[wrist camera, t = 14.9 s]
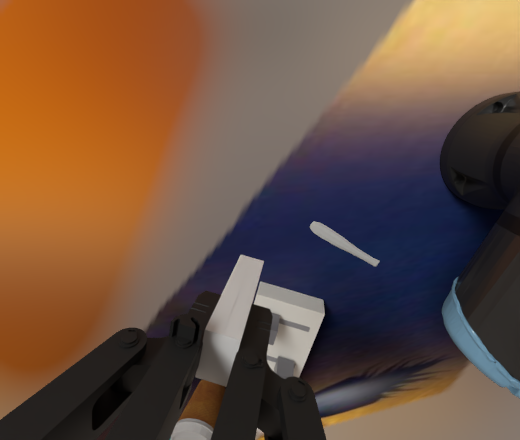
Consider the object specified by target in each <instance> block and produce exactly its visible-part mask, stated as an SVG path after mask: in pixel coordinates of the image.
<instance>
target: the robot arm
mask: <svg viewBox="0 0 520 440" xmlns="http://www.w3.org/2000/svg"><path fill="white" fill-rule="evenodd" d="M440 169H441V174H442V177H443V180H444V182H445V184H446V185H447V187H448V188H449V189H450V191H451V192H452V193H454V194H455V195H456V196H457V197H459V198H461V199H462V200H464V201H467V202H469V203H471V204H473V205H475V206H479V207H483V208H488V209H505V210H504V211H503V213H502V214H501V216H500V217H499V219H498V220H497V221H496V223H495V224H494V226H493V227H492V229H491V230H490V232H489V233H488V235H487V236H486V238H485V239H484V241H483V242H482V244H481V245H480V247H479V248H478V250H477V251H476V252H475V254H474V255H473V257H472V258H471V260H470V261H469V263H468V264H467V266H466V267H465V268H464V270H463V271H462V273H461V274H460V276H459V277H457V278H456V279H455V280H454V282H453V285H452V290H451V291H450V293H449V295H448V296H447V298H446V300H445V301H444V304H443V307H442V315H443V322H444V325H445V327H446V330H447V332H448V333H449V335H450V337H451V338H452V340H453V341H454V343H455V344H456V346H457V347H458V348H459V349H460V351H461V352H462V353H463V354H464V355H465V356H466V357H467V358H468V359H469V361H470V362H471V363H472V364H474V365H475V366H476V367H477V368H478V369H479V370H480V371H481V372H482V373H483V374H485V375H486V376H487V377H488V378H489V379H491V380H492V381H494V382H495V383H496V384H498V385H499V386H500V387H507V388H508V389H509V390H510V391H511V393H512V394H513V395H515V396H517V397H518V398H520V92H513V93H506V94H502V95H498V96H495V97H492V98H489V99H487V100H485V101H483V102H481V103H479V104H478V105H476V106H475V107H473V108H472V109H470V110H469V111H468V112H467V113H465V114H464V115H463V116H462V117H461V118H460V119H459V120H458V121H457V122H456V124H455V125H454V126H453V128H452V129H451V130H450V132H449V134H448V135H447V137H446V139H445V142H444V144H443V147H442V151H441V157H440ZM263 263H264V261H261V260H258V259H254V258H251V257H247V256H244V255H240V257H239V259H238V261H237V263H236V266H235V268H234V270H233V272H232V274H231V276H230V278H229V280H228V282H227V284H226V287H225V289H224V291H223V293H222V295H219V294H216V293H212V292H209V291H205V292H203V293H201V294H200V295H199V296H198V297H197V299H196V301H195V303H194V304H193V306H192V307H191V309H190V310H189V312H188V314H183V315H179V316H177V317H175V318H174V319H173V320H172V321H171V326H170V333H169V336H167V337H164V338H147V336H146V333H145V332H144V331H143V330H141V329H138V328H126V329H122V330H120V331H119V332H117V333H115V334H114V335H113V336H112V337H110V338H109V339H107V340H106V341H105V342H103V343H102V344H101V345H99V346H98V347H97V348H95V349H94V350H93V351H92V352H90V353H89V354H88V355H86V356H85V357H84V358H82V359H81V360H80V361H78V362H77V363H76V364H74V365H73V366H71V367H70V368H69V369H68V370H66V371H65V372H63V373H62V374H61V375H59V376H58V377H57V378H55V379H54V380H53V381H51V382H50V383H49V384H48V385H46V386H45V387H43V388H42V389H41V390H40V391H38V392H37V393H36V394H34V395H33V396H32V397H30V398H29V399H28V400H26V401H25V402H24V403H22V404H21V405H20V406H18V407H17V408H16V409H14V410H13V411H12V412H10V413H9V414H7V415H6V416H5V417H3V418H2V419H1V420H0V440H96V439H97V438H98V437H99V436H100V434H101V433H102V432H103V431H104V430H105V429H106V428H107V427H108V426H109V425H110V424H111V423H112V422H113V420H114V419H115V418H116V417H117V416H118V415H119V414H120V413H121V414H120V416H119V417H118V419H117V420H116V422H115V424H114V425H113V427H112V428H111V430H110V432H109V433H108V435H107V436H106V438H105V440H170V437H171V435H172V432H173V430H174V428H175V425H176V423H177V421H178V418H179V416H180V413H181V411H182V409H183V406H184V404H185V402H186V399H187V397H188V394H189V392H190V390H191V385H192V381H193V378H194V376H195V374H196V376H195V377H197V378H200V379H203V380H206V381H209V382H213V383H216V384H219V385H222V386H225V387H226V389H225V393H224V396H223V399H222V403H221V406H220V410H219V413H218V416H217V420H216V423H215V426H214V430H213V433H212V437H211V440H255V436H256V430H257V428H258V429H260V430H261V431H262V432H264V438H265V440H326V436H325V433H324V429H323V425H322V421H321V418H320V414H319V410H318V407H317V403H316V399H315V395H314V393H313V390H312V388H311V387H310V385H309V384H308V383H307V382H306V381H304V380H303V379H301V378H298V377H295V376H293V377H287V378H286V379H284V378H282V377H281V376H279V375H277V374H276V373H275V372H274V371H273V370H272V369H271V368H270V366H269V364H268V362H267V350H268V344H269V337H270V331H271V325H272V319H273V316H272V313H271V310H270V309H268V308H265V307H262V306H258V305H255V304H252V302H253V299H254V295H255V292H256V288H257V284H258V281H259V277H260V274H261V270H262V266H263Z"/></svg>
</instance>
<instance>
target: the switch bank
mask: <svg viewBox="0 0 520 440" xmlns="http://www.w3.org/2000/svg"><path fill="white" fill-rule="evenodd" d="M254 304H255V305H258V306H262V307H265V308H268V309H270V310H271V312H272V313H275V314H278V315H280V318H279V326H278V333H277V336H276V339H275V342H274V344H273V345H270V344H268V350H267V362H268V364H269V366H270V368H271V369H272V370H273V371H274V367H275V364H276V361H277V358H278V356H279V357H283V358H286V359H289V360H292V361H294V375H293V376H295V377H298V378H299V377H300V374H301V372H302V369H303V367H304V364H305V362H306V359H307V357H308V355H309V352H310V350H311V347H312V345H313V342H314V340H315V337H316V335H317V333H318V330H319V328H320V325H321V323H322V320H323V318H324V315H325V310H324V301H323V300H322V299H319V298H315V297H312V296H308V295H305V294H302V293H298V292H295V291H291V290H288V289H285V288H281V287H278V286H274V285H271V284H267V283H264V282H261V281H260V284H259V288H258V291H257V295H256V298H255V302H254Z"/></svg>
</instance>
